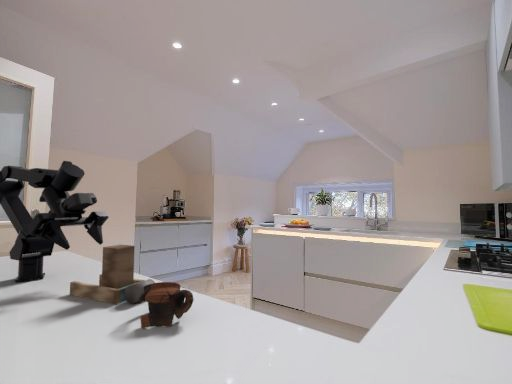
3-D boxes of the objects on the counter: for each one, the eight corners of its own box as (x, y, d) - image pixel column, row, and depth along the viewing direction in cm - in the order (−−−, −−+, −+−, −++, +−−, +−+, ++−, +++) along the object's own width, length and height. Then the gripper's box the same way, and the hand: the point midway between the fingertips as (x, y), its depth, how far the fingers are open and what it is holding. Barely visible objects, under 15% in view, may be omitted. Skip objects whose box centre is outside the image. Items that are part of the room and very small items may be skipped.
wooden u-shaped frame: (69, 294, 68) (70, 278, 68) (102, 284, 76) (102, 270, 76) (131, 307, 60) (132, 288, 60) (160, 294, 68) (161, 278, 69)
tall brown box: (101, 296, 67) (103, 247, 67) (118, 290, 71) (120, 244, 72) (116, 299, 65) (117, 248, 65) (133, 293, 69) (134, 245, 70)
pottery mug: (123, 331, 50) (129, 285, 54) (154, 334, 58) (157, 293, 62) (182, 320, 48) (183, 273, 52) (206, 325, 56) (205, 283, 60)
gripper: (37, 179, 66) (65, 228, 62) (105, 184, 84) (131, 223, 79) (16, 211, 69) (41, 259, 65) (86, 209, 86) (110, 248, 82)
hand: (85, 245), depth 72 cm, fingers open, 9 cm apart
